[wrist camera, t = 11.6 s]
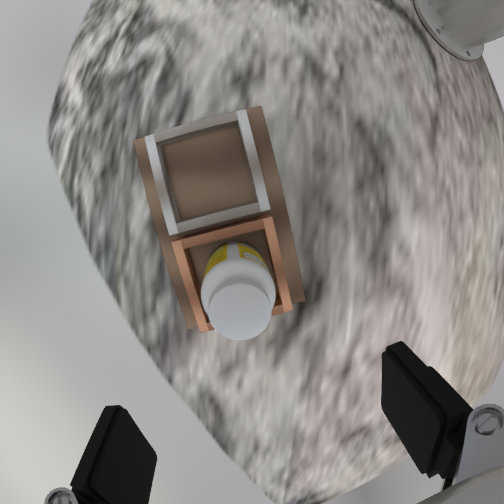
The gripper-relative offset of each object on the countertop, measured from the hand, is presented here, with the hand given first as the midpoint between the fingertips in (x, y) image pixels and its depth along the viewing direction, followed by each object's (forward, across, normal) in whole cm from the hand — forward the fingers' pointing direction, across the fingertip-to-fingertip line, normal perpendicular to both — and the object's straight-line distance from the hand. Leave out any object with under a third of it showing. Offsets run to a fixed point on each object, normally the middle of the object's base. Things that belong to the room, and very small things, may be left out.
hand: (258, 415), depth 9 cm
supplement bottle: (+19, 0, 0) cm, 19 cm away
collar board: (+20, +1, -4) cm, 21 cm away
